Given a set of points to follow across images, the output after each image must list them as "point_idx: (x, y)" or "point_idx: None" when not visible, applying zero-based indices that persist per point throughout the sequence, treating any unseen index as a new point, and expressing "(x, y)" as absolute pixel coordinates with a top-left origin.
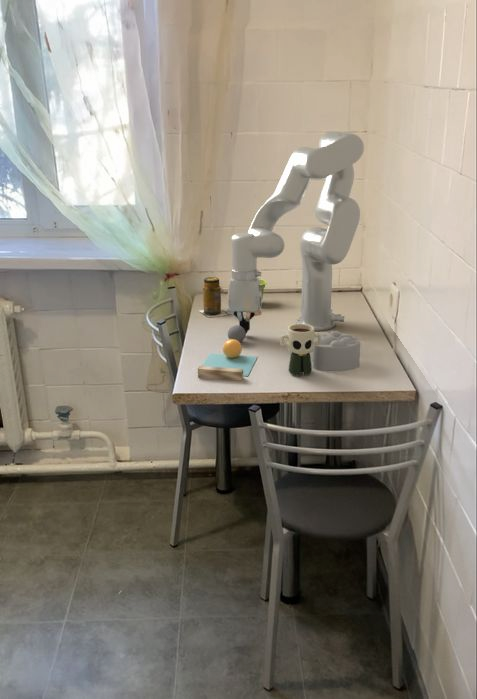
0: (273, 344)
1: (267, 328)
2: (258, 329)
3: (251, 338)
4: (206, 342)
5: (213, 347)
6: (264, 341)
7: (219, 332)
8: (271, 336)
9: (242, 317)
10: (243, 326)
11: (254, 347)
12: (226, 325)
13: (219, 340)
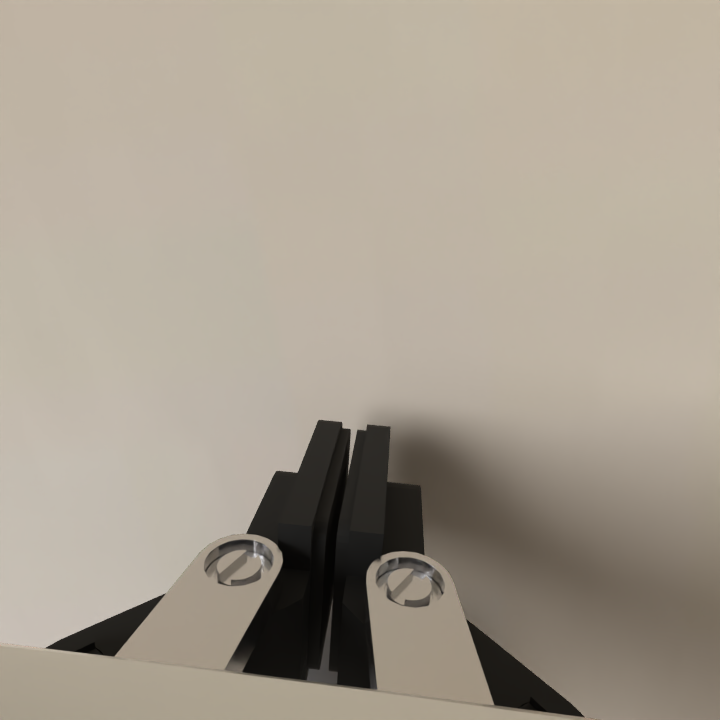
0: (699, 647)
1: (667, 89)
2: (520, 158)
3: (444, 499)
4: (13, 618)
5: None
6: (600, 575)
7: (27, 337)
8: (700, 421)
9: (274, 667)
10: (331, 601)
11: None
12: (13, 29)
13: (114, 568)
